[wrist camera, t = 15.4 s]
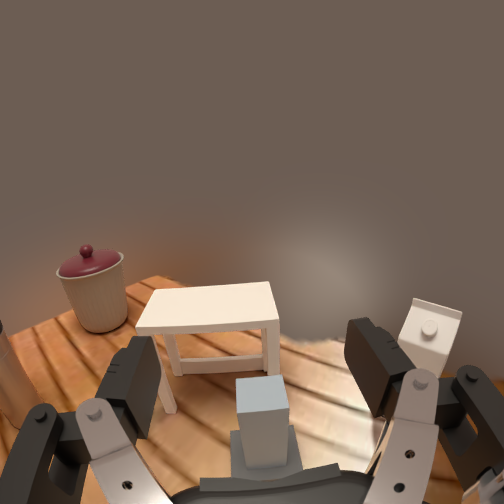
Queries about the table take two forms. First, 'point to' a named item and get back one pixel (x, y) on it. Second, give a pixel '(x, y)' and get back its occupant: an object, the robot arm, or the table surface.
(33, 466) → the robot arm
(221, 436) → the table surface
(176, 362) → the rack
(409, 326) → the milk carton
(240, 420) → the blank
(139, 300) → the table surface
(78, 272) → the canister
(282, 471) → the mat
